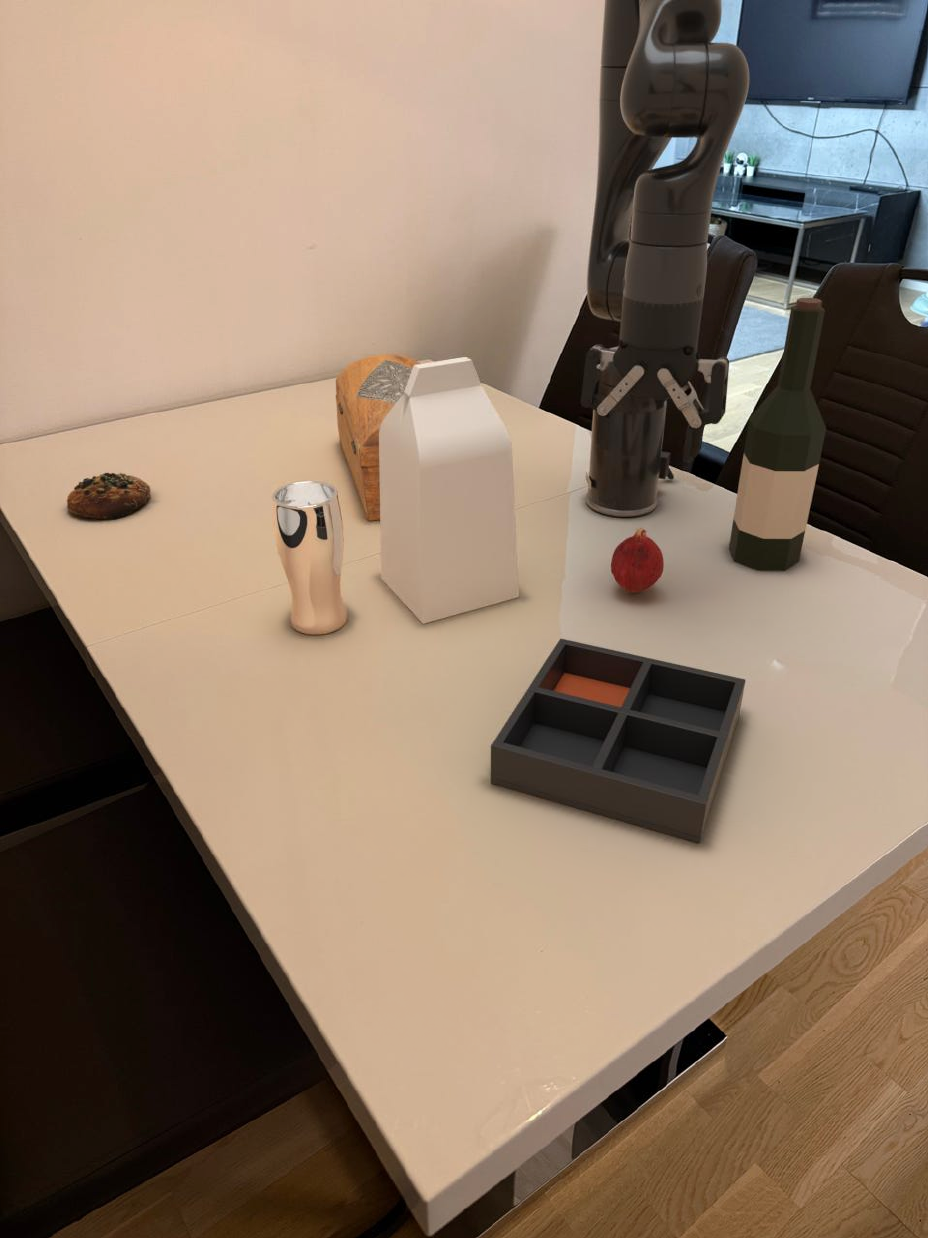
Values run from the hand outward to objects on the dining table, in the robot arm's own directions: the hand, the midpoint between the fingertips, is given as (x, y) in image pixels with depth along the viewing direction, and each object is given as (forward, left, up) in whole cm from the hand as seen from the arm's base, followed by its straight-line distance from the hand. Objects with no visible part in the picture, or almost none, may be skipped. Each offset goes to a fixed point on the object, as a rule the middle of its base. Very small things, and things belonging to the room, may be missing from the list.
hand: (646, 453), depth 95 cm
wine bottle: (-15, +12, -17) cm, 26 cm away
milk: (+7, -20, -17) cm, 27 cm away
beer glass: (+19, -30, -17) cm, 39 cm away
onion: (0, 0, -17) cm, 17 cm away
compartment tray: (+27, +6, -17) cm, 32 cm away
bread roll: (+4, -73, -17) cm, 75 cm away
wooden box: (-21, -40, -17) cm, 48 cm away
